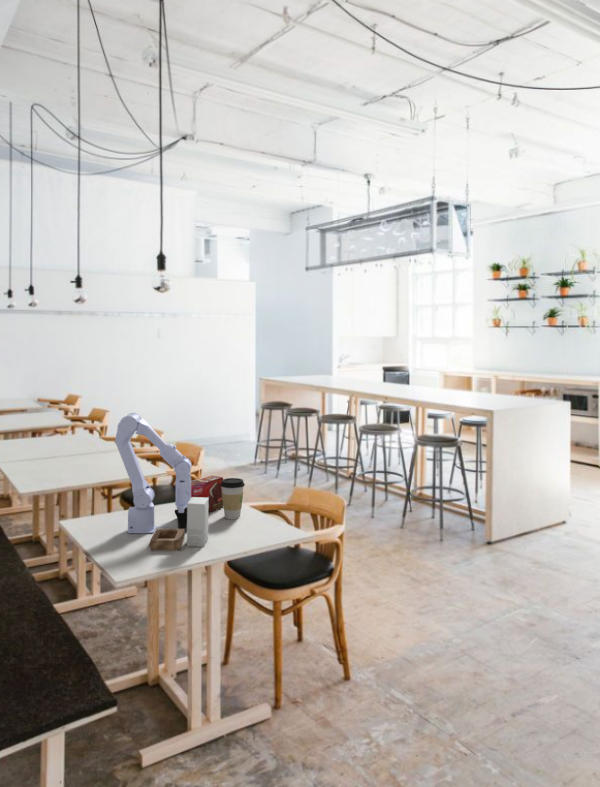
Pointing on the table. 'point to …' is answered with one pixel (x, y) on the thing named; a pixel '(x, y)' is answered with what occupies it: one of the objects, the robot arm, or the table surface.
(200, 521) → the skincare box
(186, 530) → the tall grey block
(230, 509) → the coffee cup
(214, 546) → the table surface
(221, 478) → the ice cream box
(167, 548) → the well block
